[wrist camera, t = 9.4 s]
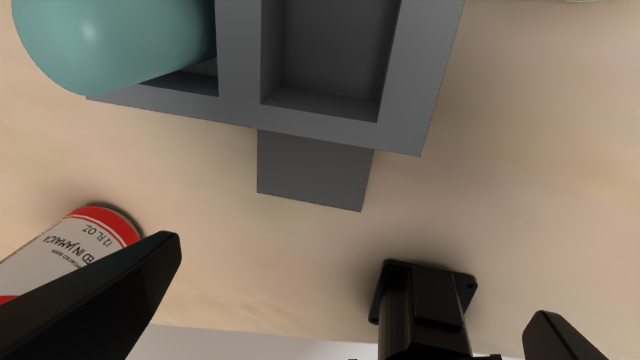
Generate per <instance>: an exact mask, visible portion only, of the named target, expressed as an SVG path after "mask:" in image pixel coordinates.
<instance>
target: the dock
mask: <svg viewBox="0 0 640 360" xmlns="http://www.w3.org/2000/svg"><path fill="white" fill-rule="evenodd" d="M464 3H465V0H215V20H216V42H217V57H216V58H213V59H211V60H208V61H205V62H202V63H198V64H195V65H192V66H189V67H186V68H183V69H180V70H177V71H174V72H171V73H168V74H165V75H162V76H159V77H155V78H152V79H149V80H146V81H143V82H140V83H137V84H134V85H131V86H128V87H125V88H122V89H119V90H116V91H112V92H109V93H106V94H103V95H99V96H86V99H87V100H93V101H98V102H104V103H110V104H116V105H122V106H127V107H133V108H139V109H145V110H151V111H156V112H162V113H168V114H174V115H180V116H186V117H191V118H197V119H203V120H209V121H215V122H220V123H226V124H232V125H238V126H244V127H249V128H255V129H261V130H267V131H273V132H278V133H284V134H290V135H296V136H302V137H307V138H313V139H319V140H325V141H331V142H337V143H342V144H348V145H354V146H360V147H366V148H371V149H377V150H383V151H389V152H395V153H400V154H406V155H412V156H418V157H420V156H421V152H422V149H423V145H424V142H425V138H426V135H427V131H428V128H429V124H430V121H431V117H432V114H433V111H434V107H435V104H436V100H437V97H438V93H439V90H440V86H441V83H442V79H443V76H444V72H445V69H446V65H447V62H448V58H449V55H450V51H451V48H452V44H453V41H454V37H455V34H456V30H457V27H458V24H459V20H460V17H461V13H462V10H463V6H464Z"/></svg>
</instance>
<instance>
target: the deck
mask: <svg viewBox="0 0 640 360" xmlns="http://www.w3.org/2000/svg"><path fill="white" fill-rule="evenodd" d="M373 151H374V149H371V148H366V147H360V146H354V145H348V144H342V143H337V142H331V141H325V140H319V139H313V138H307V137H302V136H296V135H290V134H284V133H278V132H273V131H267V130H261V129H258V146H257V193H262V194H267V195H273V196H278V197H283V198H288V199H293V200H299V201H304V202H309V203H314V204H319V205H325V206H330V207H335V208H340V209H345V210H351V211H356V212H361V209H362V204H363V200H364V195H365V190H366V185H367V180H368V176H369V171H370V166H371V161H372V156H373Z"/></svg>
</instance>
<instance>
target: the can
mask: <svg viewBox="0 0 640 360" xmlns="http://www.w3.org/2000/svg"><path fill="white" fill-rule="evenodd" d="M562 1H567V2H579V3H588V2H600V1H606V0H562Z"/></svg>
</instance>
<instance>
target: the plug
mask: <svg viewBox="0 0 640 360" xmlns="http://www.w3.org/2000/svg"><path fill="white" fill-rule="evenodd" d="M11 8H12V15H13V20H14V24H15V27H16V30H17V33H18V35H19V37H20V39H21V42H22V44H23V45H24V47H25V49H26V51H27V52H28V54H29V55H30V57H31V58H32V60H33V61H34V62H35V63H36V65H37V66H38V67H39V68H40V69H41V70H42V71H43V72H44V73H45V74H46V75H47V76H48V77H49V78H50V79H51V80H53V81H54V82H55V83H57V84H58V85H60V86H61V87H63V88H65V89H67V90H68V91H71V92H73V93H76V94H79V95H83V96H99V95H103V94H106V93H109V92H112V91H116V90H119V89H122V88H125V87H128V86H131V85H134V84H137V83H140V82H143V81H146V80H149V79H152V78H155V77H159V76H162V75H165V74H168V73H171V72H174V71H177V70H180V69H183V68H186V67H189V66H192V65H195V64H198V63H202V62H205V61H208V60H211V59H213V58H216V57H217V42H216V20H215V0H11Z"/></svg>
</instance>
